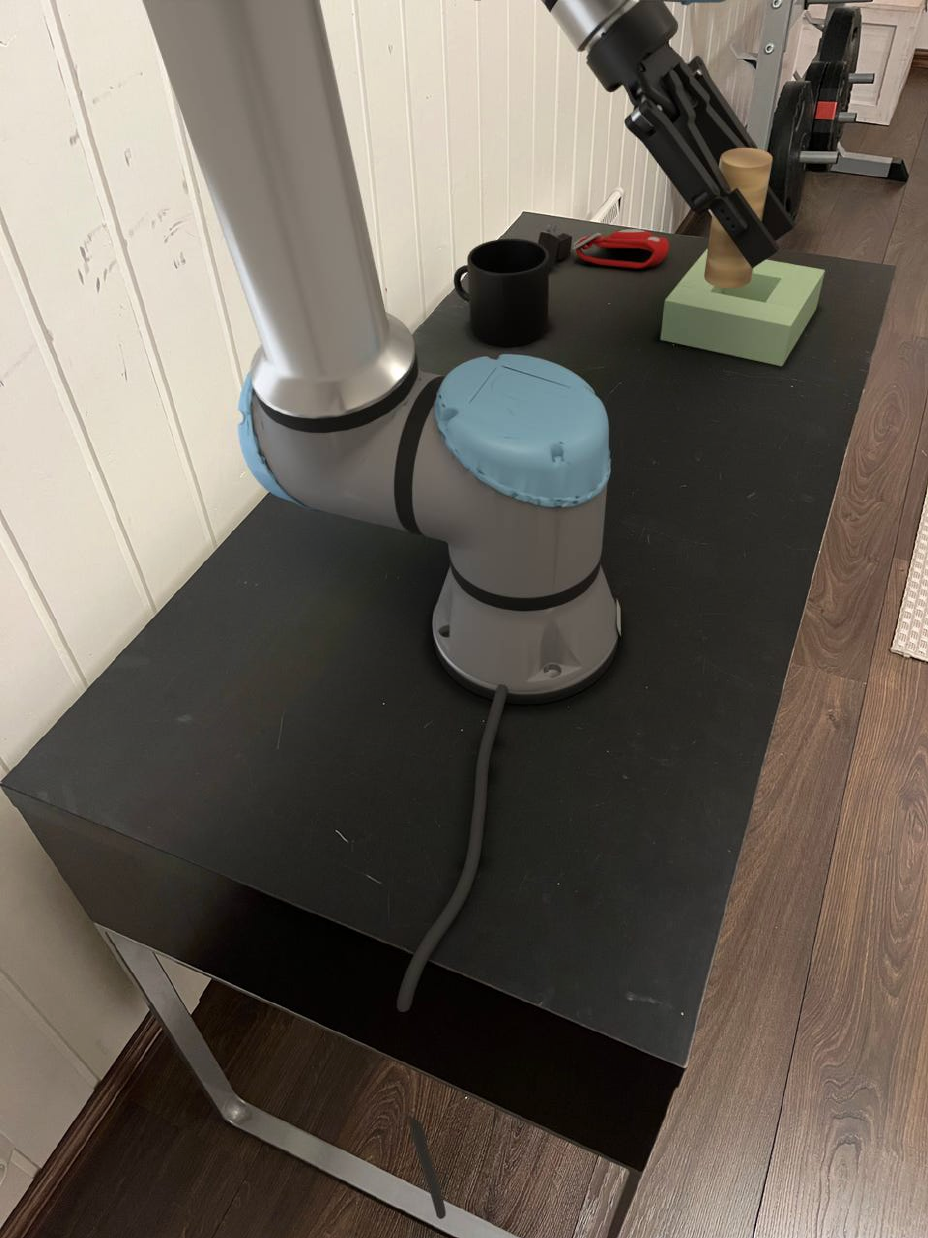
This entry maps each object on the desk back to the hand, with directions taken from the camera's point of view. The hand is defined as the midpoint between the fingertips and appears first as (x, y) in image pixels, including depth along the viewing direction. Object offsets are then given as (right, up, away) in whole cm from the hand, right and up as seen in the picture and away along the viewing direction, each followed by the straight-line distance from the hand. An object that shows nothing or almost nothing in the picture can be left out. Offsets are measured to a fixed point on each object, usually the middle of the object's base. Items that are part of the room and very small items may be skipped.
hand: (774, 245), depth 85 cm
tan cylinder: (-3, -1, +4) cm, 5 cm away
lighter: (-18, +12, +37) cm, 43 cm away
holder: (+5, +1, +27) cm, 27 cm away
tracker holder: (-7, +15, +41) cm, 44 cm away
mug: (-24, +2, +30) cm, 38 cm away
